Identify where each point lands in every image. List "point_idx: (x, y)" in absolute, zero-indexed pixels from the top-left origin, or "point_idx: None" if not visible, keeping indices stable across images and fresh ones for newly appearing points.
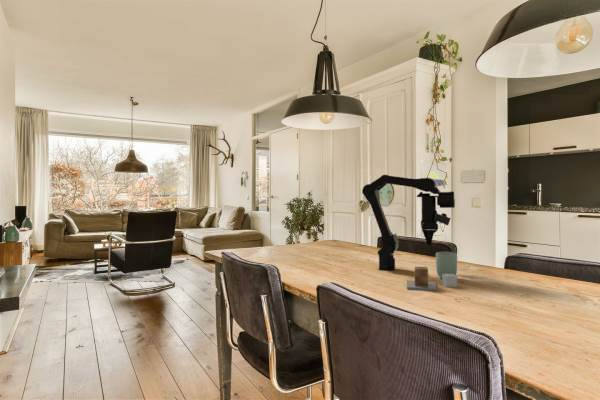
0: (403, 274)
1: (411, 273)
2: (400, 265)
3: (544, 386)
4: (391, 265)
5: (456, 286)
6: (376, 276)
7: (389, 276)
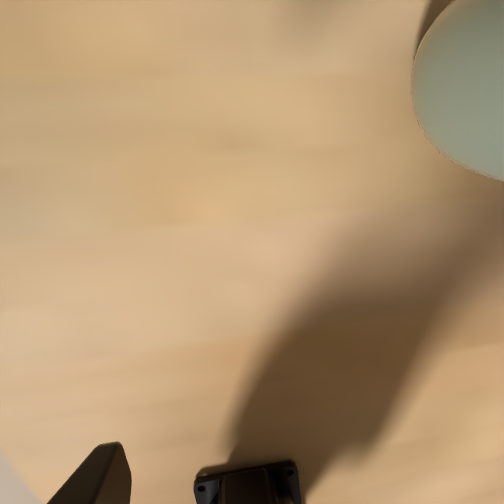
0: (391, 385)
1: (346, 347)
2: None
3: None
4: (278, 501)
5: None
6: (473, 492)
7: (463, 440)
